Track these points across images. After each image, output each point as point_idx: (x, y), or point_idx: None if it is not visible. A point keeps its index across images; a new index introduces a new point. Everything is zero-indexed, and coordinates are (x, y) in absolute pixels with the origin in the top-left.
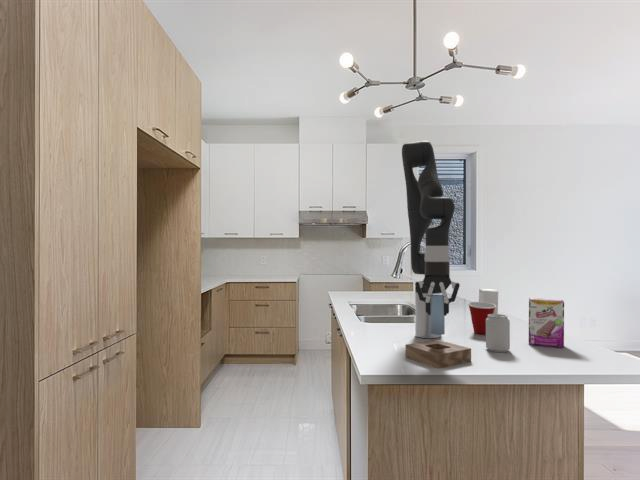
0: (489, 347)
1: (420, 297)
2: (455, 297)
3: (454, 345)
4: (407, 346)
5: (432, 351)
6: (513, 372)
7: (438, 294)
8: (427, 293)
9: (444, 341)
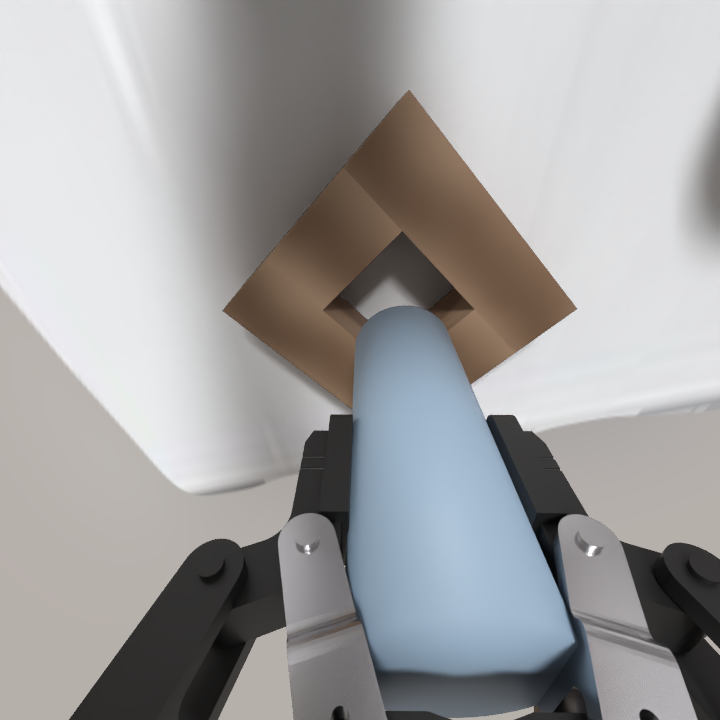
0: None
1: (215, 644)
2: (708, 671)
3: (500, 261)
4: (238, 318)
5: None
6: (655, 388)
7: (497, 645)
8: (289, 658)
9: (455, 153)
